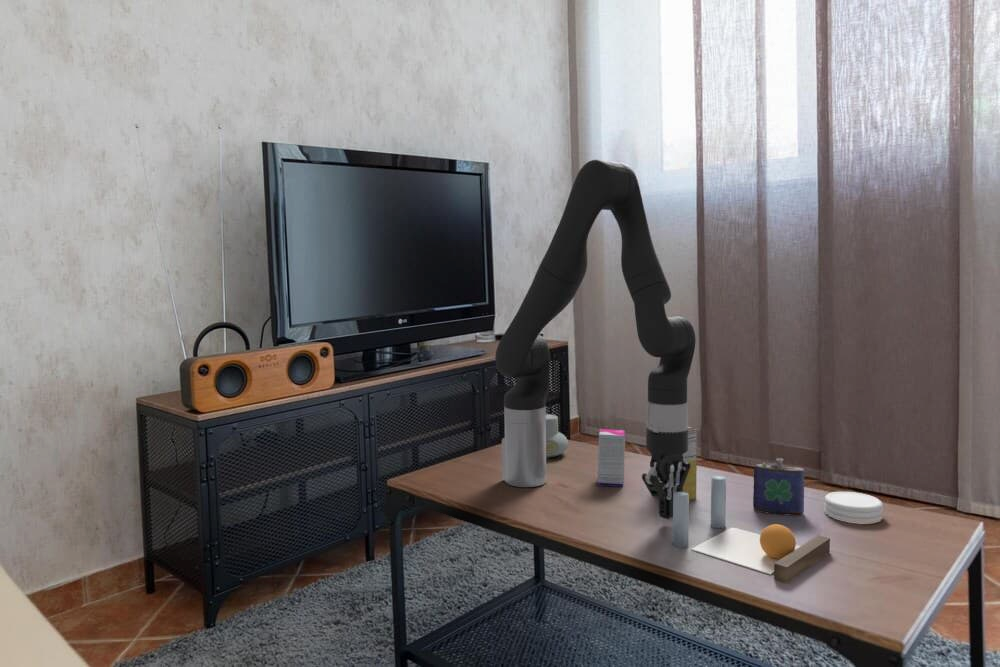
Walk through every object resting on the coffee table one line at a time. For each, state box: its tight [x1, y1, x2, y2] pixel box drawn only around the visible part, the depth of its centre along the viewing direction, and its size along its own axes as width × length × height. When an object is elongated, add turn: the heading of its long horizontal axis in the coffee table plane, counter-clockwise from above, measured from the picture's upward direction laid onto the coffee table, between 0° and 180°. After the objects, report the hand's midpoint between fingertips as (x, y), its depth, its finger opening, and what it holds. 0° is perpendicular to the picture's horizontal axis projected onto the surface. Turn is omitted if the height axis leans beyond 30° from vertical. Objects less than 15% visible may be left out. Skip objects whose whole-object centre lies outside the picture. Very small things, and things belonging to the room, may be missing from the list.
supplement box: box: [597, 428, 626, 487], centre depth 159 cm, size 6×6×12 cm
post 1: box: [672, 492, 690, 549], centre depth 123 cm, size 3×3×9 cm
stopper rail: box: [773, 534, 831, 584], centre depth 114 cm, size 2×16×2 cm, turn 134°
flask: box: [752, 457, 805, 516], centre depth 139 cm, size 9×3×11 cm, turn 68°
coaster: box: [823, 491, 884, 522], centre depth 137 cm, size 10×10×4 cm
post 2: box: [710, 475, 727, 529], centre depth 132 cm, size 3×3×9 cm
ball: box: [759, 523, 797, 559], centre depth 117 cm, size 6×6×6 cm
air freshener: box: [546, 413, 569, 459], centre depth 183 cm, size 11×8×10 cm
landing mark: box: [690, 526, 801, 576], centre depth 121 cm, size 14×14×1 cm
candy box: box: [681, 424, 698, 501], centre depth 149 cm, size 9×4×15 cm, turn 28°
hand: (666, 517), depth 133 cm, fingers closed
